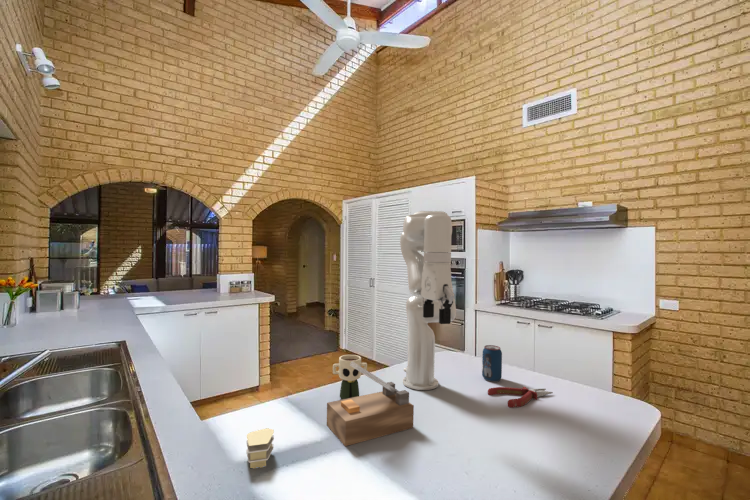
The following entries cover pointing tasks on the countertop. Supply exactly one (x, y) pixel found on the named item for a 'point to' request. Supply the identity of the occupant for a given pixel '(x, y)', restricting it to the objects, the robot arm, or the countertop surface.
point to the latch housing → (370, 415)
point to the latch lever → (373, 377)
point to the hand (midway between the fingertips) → (436, 320)
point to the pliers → (519, 391)
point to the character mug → (349, 375)
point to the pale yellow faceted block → (259, 447)
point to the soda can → (492, 363)
